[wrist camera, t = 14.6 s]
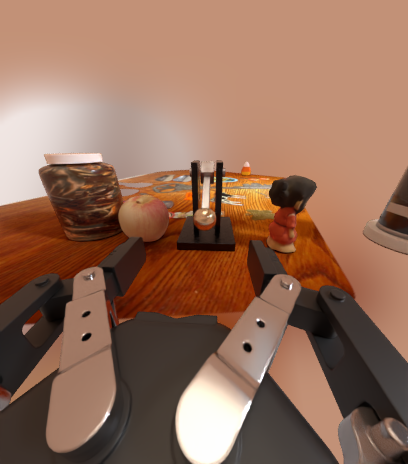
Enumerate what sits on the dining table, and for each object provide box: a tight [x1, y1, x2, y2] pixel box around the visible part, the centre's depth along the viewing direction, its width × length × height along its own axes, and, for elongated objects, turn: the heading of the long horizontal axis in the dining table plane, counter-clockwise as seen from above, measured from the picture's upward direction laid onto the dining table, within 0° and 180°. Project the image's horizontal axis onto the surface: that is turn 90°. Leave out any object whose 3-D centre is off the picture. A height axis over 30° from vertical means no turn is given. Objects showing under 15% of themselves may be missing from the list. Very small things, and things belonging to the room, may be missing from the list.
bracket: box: [177, 160, 235, 251], centre depth 30 cm, size 12×10×14 cm
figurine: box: [266, 175, 317, 252], centre depth 27 cm, size 6×6×12 cm
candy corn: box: [241, 162, 251, 175], centre depth 103 cm, size 6×3×8 cm, turn 76°
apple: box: [118, 195, 169, 242], centre depth 30 cm, size 9×9×8 cm
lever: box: [193, 162, 216, 231], centre depth 25 cm, size 13×3×3 cm, turn 176°
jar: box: [39, 153, 123, 241], centre depth 33 cm, size 12×12×15 cm
